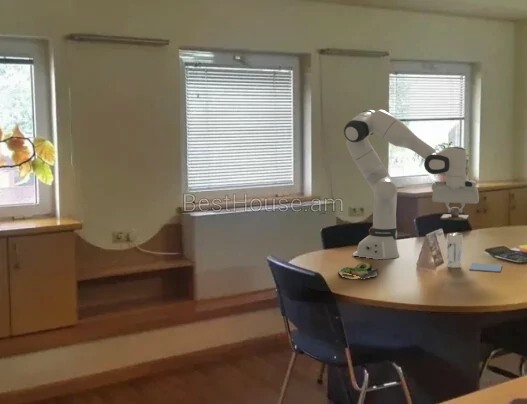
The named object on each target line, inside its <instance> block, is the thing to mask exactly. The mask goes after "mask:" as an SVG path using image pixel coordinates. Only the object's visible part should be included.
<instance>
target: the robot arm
mask: <svg viewBox="0 0 527 404" xmlns="http://www.w3.org/2000/svg"><path fill="white" fill-rule="evenodd" d="M343 133H344V138H345V139H346V142H345V145H346V148H347V150H348V152H349V154H350V156H351V158H352V161H353V162H354V163H355V164H356V166H357V168H358V170H359V172H360V173H361V175H362V176H363V178H364V179H365V181H366V182H367V184H368V186H369V188H370V189H371V191H372V193H373V205H372V206H373V207H372V209H373V211H372V226H371V227H370V228H369V229H368V233H369V235H367V236H366V237H364V238H363V239H362V240H361V241H359V243H358V245H357V249H356V251H354V252H353V253H352V257H354V256H359V257H358V258H360V257H366V258H365V259H369V258H373V259H372V260H378V259H383V260H387V259H388V260H389V259H395V258H396V259H397V258H399V257H400V253H399V249H398V242H397V238H398V230H397V229H398V228H397V205H398V204H397V203H398V201H397V200H398V185H397V184H396V182H395V181H394V180H393V179H392V177H391V176H390V174H389V172H388V170H387V168H386V167H385V165H384V163H383V162H382V160H381V158H380V157H379V155H378V153H377V151H376V150H375V149H374V147H373V146H372V144H371V142H370V140H369V138H370V136H371V135H374V134H377V135H378V136H379V137H381V139H383V140H385V141H386V142H387V143H388V144H390V145H393V146H395V147H400V148H405V149H407V150H410V151H412V152H414V153H415V154H417V155H418V156H419V157H421V158H422V159H423V160H424V162H423V167H424V169H425V171H426V172H427V173H429V174H431V175H440V174H445V181H435V182H432V184H431V190H432V196H431V201H432V202H433V203H444V204H445V207H446V208H447V213H449V214H451V207H450V206H449V205H450V203H451V204H460V206H461V208H459V209H458V211H459V212H458V213H459V214H463V208H464V207H465V206H466V204H475V205H476V204H479V201H480V195H479V194H480V193H479V189H478V187H477V181H476V180H473V179H470V178H467V171H466V169H467V165H468V164H467V162H468V161H467V151H466V149H465V148H464V147H462V146H458V145H448V146H447V147H445V148H443V149H441V150H437V149H435V148H433V147H432V146H431V145H429V144H428V143H426V142H425V141H424V140H422V139H421V138H419V136H417V135H416V134H415V133H414V132H413V131H412V130H411V129H410V128H409V127H408V126H407V125H406V124H404V122H403V121H401V120H400V119H399V118H397V117H395V116H394V115H392V114H391V113H389V112H387V111H386V110H384V109H377V110H373V109H366V110H364V111H361V112H360V113H359V114H356V115H355V116H354V117H353V118H352V119H351V120H349V121H348V122H347V123H346V124H345V126H344V128H343Z"/></svg>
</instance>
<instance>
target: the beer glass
mask: <svg viewBox="0 0 527 404" xmlns="http://www.w3.org/2000/svg"><path fill="white" fill-rule="evenodd" d="M463 240H464V239H463V233H460V232H449V233H447V235H446V250H447V254H448V255H447V256H448V262H447V267H448V268H451V269H458V268H459V269H460V268H462V262H461V260H462V258H461V257H462V251H463V246H464V242H463Z"/></svg>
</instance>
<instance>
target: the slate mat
mask: <svg viewBox="0 0 527 404" xmlns="http://www.w3.org/2000/svg"><path fill="white" fill-rule="evenodd" d="M502 267H503V264H493V263H479V262H476V263H475V262H472V263H471V264H470V267H469V268H468V270H469V271H474V272H488V273H489V272H490V273H501V271H502Z"/></svg>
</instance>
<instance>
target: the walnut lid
mask: <svg viewBox="0 0 527 404" xmlns="http://www.w3.org/2000/svg"><path fill="white" fill-rule="evenodd" d="M450 208H451V213H449V214H447V213H443V214H442V215H441V216H440V220H444V221H445V220H446V221H448V220H449V221H467V220H468V219H469V217H470V215H469V214H460V213H458V212H459V211H458V209H460V208H459V207H458V206H452V207H450Z"/></svg>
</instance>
